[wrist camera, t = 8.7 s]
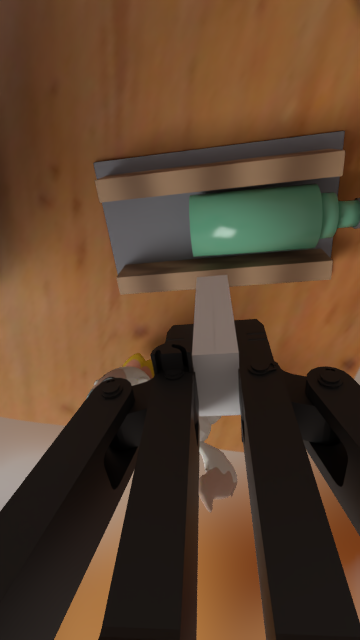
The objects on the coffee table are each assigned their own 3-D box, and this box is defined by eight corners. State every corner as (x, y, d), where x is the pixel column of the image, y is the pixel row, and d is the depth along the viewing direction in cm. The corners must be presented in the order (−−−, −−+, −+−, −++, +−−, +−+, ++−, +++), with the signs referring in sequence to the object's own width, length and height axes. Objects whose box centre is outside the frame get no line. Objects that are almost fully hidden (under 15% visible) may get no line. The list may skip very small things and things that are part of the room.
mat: (122, 289, 37) (121, 291, 37) (94, 162, 31) (93, 162, 30) (327, 274, 34) (328, 276, 34) (343, 131, 28) (344, 130, 28)
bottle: (192, 261, 28) (373, 249, 26) (187, 194, 26) (381, 176, 25) (195, 252, 33) (348, 241, 31) (192, 195, 31) (353, 180, 30)
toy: (141, 308, 38) (104, 399, 25) (257, 396, 43) (276, 510, 30) (99, 354, 42) (48, 454, 29) (210, 430, 47) (209, 544, 34)
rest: (128, 280, 36) (120, 294, 33) (106, 175, 31) (94, 180, 28) (319, 265, 33) (330, 279, 30) (330, 148, 28) (345, 150, 25)
